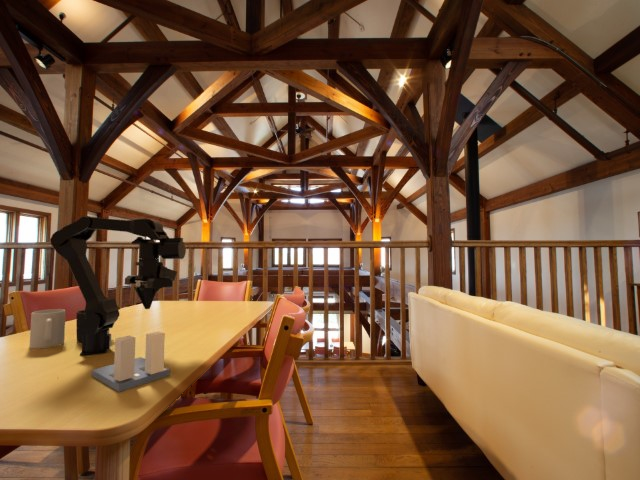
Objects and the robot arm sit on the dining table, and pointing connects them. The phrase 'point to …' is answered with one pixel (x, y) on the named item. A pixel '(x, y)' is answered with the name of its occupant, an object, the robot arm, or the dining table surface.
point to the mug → (47, 328)
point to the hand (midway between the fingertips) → (147, 308)
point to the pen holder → (80, 319)
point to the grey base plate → (139, 378)
